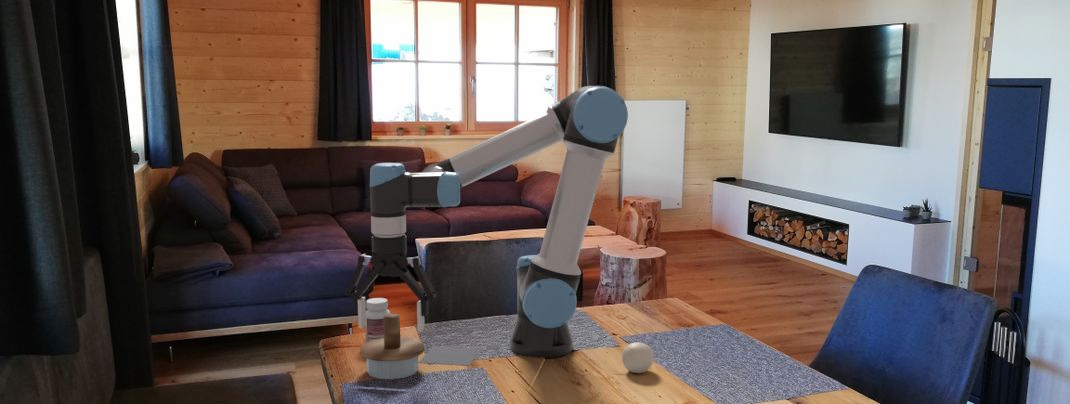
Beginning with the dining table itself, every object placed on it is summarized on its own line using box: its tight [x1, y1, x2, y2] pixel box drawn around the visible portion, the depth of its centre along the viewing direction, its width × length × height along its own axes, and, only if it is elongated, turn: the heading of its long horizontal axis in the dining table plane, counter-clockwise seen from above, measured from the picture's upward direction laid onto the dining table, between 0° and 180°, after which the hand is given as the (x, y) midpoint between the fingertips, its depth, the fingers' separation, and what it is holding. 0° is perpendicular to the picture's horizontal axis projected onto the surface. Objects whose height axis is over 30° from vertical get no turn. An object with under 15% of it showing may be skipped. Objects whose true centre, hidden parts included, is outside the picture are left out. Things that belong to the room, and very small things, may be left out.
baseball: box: [621, 341, 654, 374], centre depth 191 cm, size 7×7×7 cm
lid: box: [359, 313, 425, 361], centre depth 190 cm, size 14×14×8 cm
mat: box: [418, 345, 482, 367], centre depth 201 cm, size 12×12×1 cm
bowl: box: [366, 356, 419, 380], centre depth 191 cm, size 11×11×5 cm
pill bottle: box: [364, 297, 391, 343], centre depth 210 cm, size 6×6×11 cm
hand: (391, 328), depth 190 cm, fingers open, 13 cm apart
